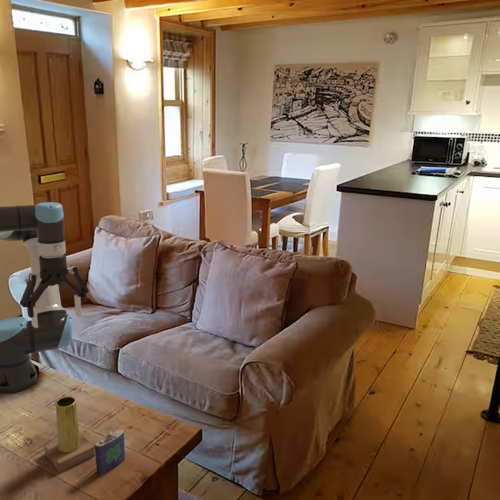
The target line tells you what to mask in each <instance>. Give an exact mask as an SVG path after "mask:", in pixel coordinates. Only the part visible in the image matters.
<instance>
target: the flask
mask: <svg viewBox="0 0 500 500" xmlns="http://www.w3.org/2000/svg"><path fill="white" fill-rule="evenodd" d="M107 432H108V434H107V436H106V437H105V438H103V439H99V440H98V441H97V442H96V443H95V445H94V451H95V456H94V457H95V466H96V467H95V468H96V474H97V475H98V476H103V475H106V474H107V473H110V472H111V471H113V470H115V468H116V467H118V466H119V465H121V464H122V463H123V462H124V461H125V459H126V448H125V447H126V445H125V430H123V429H118V430H116V431H114V432H112V430H109V431H107Z"/></svg>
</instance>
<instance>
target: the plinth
mask: <svg viewBox="0 0 500 500" xmlns="http://www.w3.org/2000/svg"><path fill="white" fill-rule="evenodd" d="M79 438H80V443H81V444H80V446H79V448H78V449H76V450H75V451H72V452H69V453H63V452H60V451H59V450H58V448H57V446H58V441H57V439H55V440H53V441H50V442H48V443H46V444H44V445H43V446H44V454H45V456H46V457H47V458H48V459H49V461H50V462H51V463H52V465H54V467H55V468H56V470H57V471H58V472H59V473H62V472H64V471H66V470H69V469H71V468H73V467H75V466H77V465H79V464H81V463H83V462H85V461H87V460H89V459H92V458H94V457H96V456H95V445H93V444H92V443H91V442H90V441H89V440H88V439H87V437H85V435H83V434H82V433H81V431H80V430H79ZM93 456H94V457H93ZM84 460H85V461H84ZM82 461H83V462H82ZM76 464H77V465H76Z"/></svg>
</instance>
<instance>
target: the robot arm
mask: <svg viewBox="0 0 500 500" xmlns="http://www.w3.org/2000/svg"><path fill="white" fill-rule="evenodd" d="M64 217H65V213H64V208H63V205H62V204H61V203H60V202H55V201H54V202H53V201H48V202H46V201H45V202H38V203H37V204H30V205H29V204H28V205H25V204H24V205H9V206H0V240H1V241H7V242H8V241H9V242H10V241H11V242H16V241H22V242H23V246H24V247H26V248H27V249H28V255H29V262H30V271H31V272H30V273H29V275H28V282H27V284H26V287H25V289H24V291H23V294H22V297H21V298H20V302H19V305H20V306H21V307H22V308H26V310H27V312H26V313H27V316H28V318H30V319H31V320H28V319H27V318H26V317H25V316H19V315H18V316H10V317H7V318H4V319H2V320H0V394H13V393H16V392H17V393H18V392H20V391H24V390H26V389H28V388H30V387H31V386H33V385H35V383H36V382H37V380H38V373H37V370H36V368H35V365H34V364H33V361H32V360H31V354H36V353H40V352H46V351H53V350H59V349H62V348H68V346H70V345H71V343H72V338H73V319H72V318H73V316H72V314H67V309H66V308H64V307H63V306H62V302H61V294H60V287H59V286H60V285H62V283H64V284H65V285H66V286H67V287H69V288H70V290H72V291H73V292H74V293H76V294H74V296H73V297H74V309H75V310H74V311H75V315H76V316H78V317H82V314H83V313H82V306H84V297H85V294H89V292H90V290H89V289H88V287H87V285H86V284H85V282H84V281H83V278H82V277H81V275H80V274H79V271H78V267H77V266H74V265H70V267H67V265H68V263H67V255H66V253H67V252H66V251H67V247H66V236H65V220H64ZM68 274H71V275H72V277H73V278H74V280H75V281H76V283H77V285H78V287H79V288H80V289H79V288H78V287H77V286H76V285H75V284H73V283H72V282H71V281H70V280H69V279H68V278H67V276H68Z"/></svg>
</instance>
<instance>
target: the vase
mask: <svg viewBox="0 0 500 500" xmlns="http://www.w3.org/2000/svg"><path fill="white" fill-rule="evenodd" d="M55 411H56V414H55V415H56V432H57V438H56V440H57V441H58V446H57V448H58V450H59V451H60V452H63V453H69V452H72V451H75V450H76V449H78V448H79V446H80V444H81V443H80V438H79V431H80V430H79V419H78V414H77V411H78V410H77V400H76V398H75V397H73V396H62V397H60V398H58V399H57V400H56V401H55Z"/></svg>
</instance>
